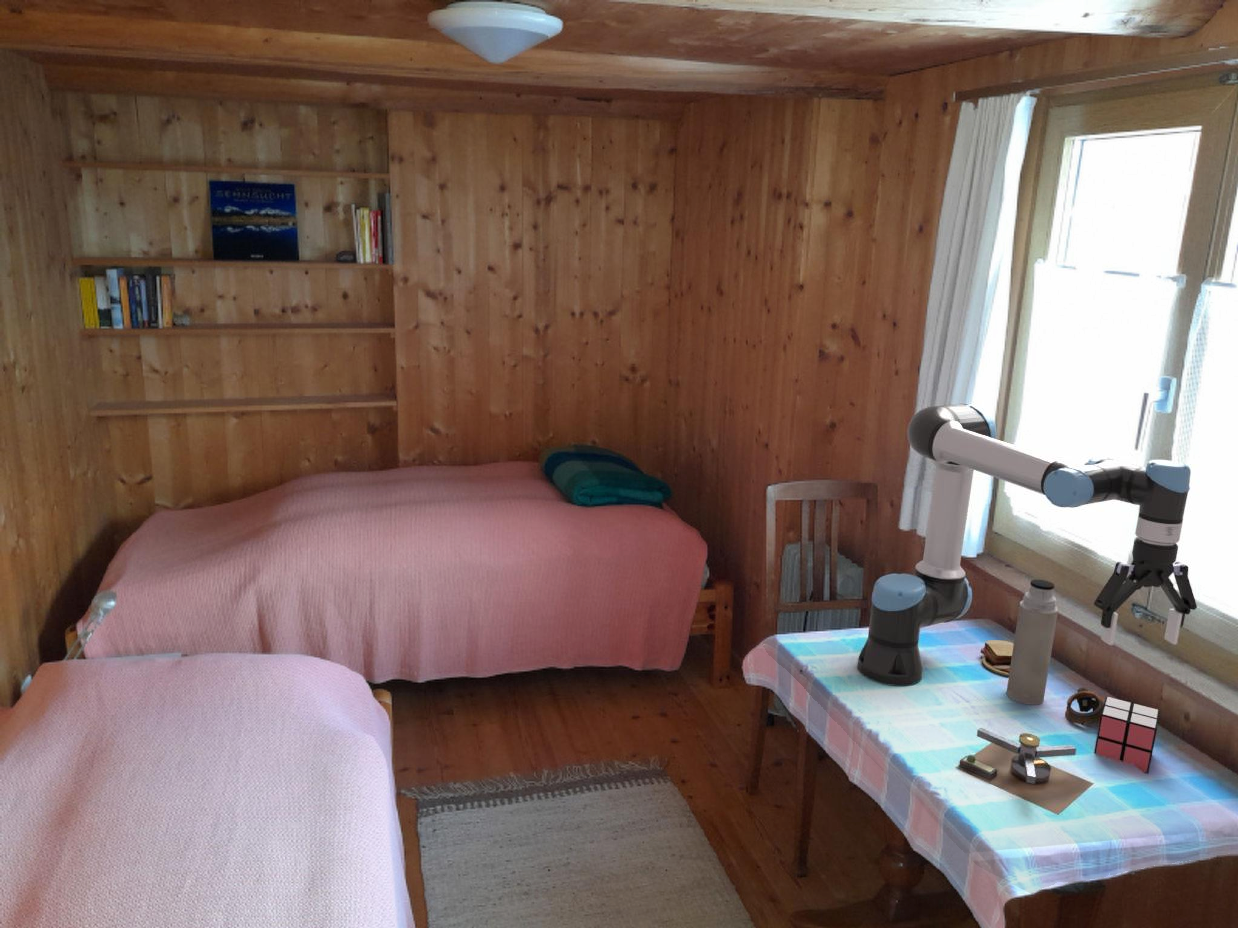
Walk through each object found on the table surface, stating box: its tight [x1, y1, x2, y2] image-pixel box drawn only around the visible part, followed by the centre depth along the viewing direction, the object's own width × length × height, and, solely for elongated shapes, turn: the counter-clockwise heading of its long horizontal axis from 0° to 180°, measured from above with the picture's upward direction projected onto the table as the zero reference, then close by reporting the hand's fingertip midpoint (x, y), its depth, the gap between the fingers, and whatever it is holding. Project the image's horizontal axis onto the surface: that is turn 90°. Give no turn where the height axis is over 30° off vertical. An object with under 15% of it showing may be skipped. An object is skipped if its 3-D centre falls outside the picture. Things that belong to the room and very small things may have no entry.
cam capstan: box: [976, 727, 1077, 784], centre depth 183 cm, size 16×18×8 cm
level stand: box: [955, 742, 1094, 815], centre depth 184 cm, size 20×16×4 cm
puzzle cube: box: [1093, 696, 1161, 774], centre depth 194 cm, size 10×10×10 cm
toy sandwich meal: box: [980, 639, 1014, 678], centre depth 234 cm, size 12×14×5 cm
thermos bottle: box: [1006, 579, 1059, 705], centre depth 216 cm, size 8×8×28 cm
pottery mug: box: [1064, 686, 1105, 725], centre depth 208 cm, size 12×10×8 cm
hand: (1138, 642), depth 189 cm, fingers open, 13 cm apart
